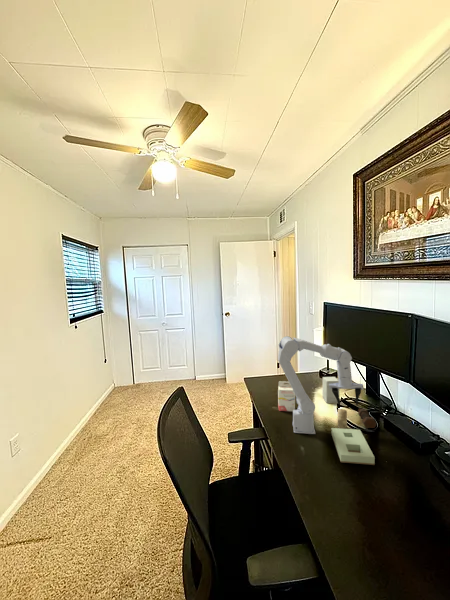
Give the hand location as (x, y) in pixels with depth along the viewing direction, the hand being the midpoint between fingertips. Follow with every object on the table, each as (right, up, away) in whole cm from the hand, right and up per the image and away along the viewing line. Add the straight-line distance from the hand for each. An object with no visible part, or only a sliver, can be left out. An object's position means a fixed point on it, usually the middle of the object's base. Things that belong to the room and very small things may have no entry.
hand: (347, 403), depth 137 cm
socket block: (-5, -13, -15) cm, 21 cm away
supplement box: (+3, -9, +31) cm, 32 cm away
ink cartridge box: (-24, -11, +22) cm, 34 cm away
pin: (-2, -12, +1) cm, 12 cm away
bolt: (+12, -11, +7) cm, 18 cm away
